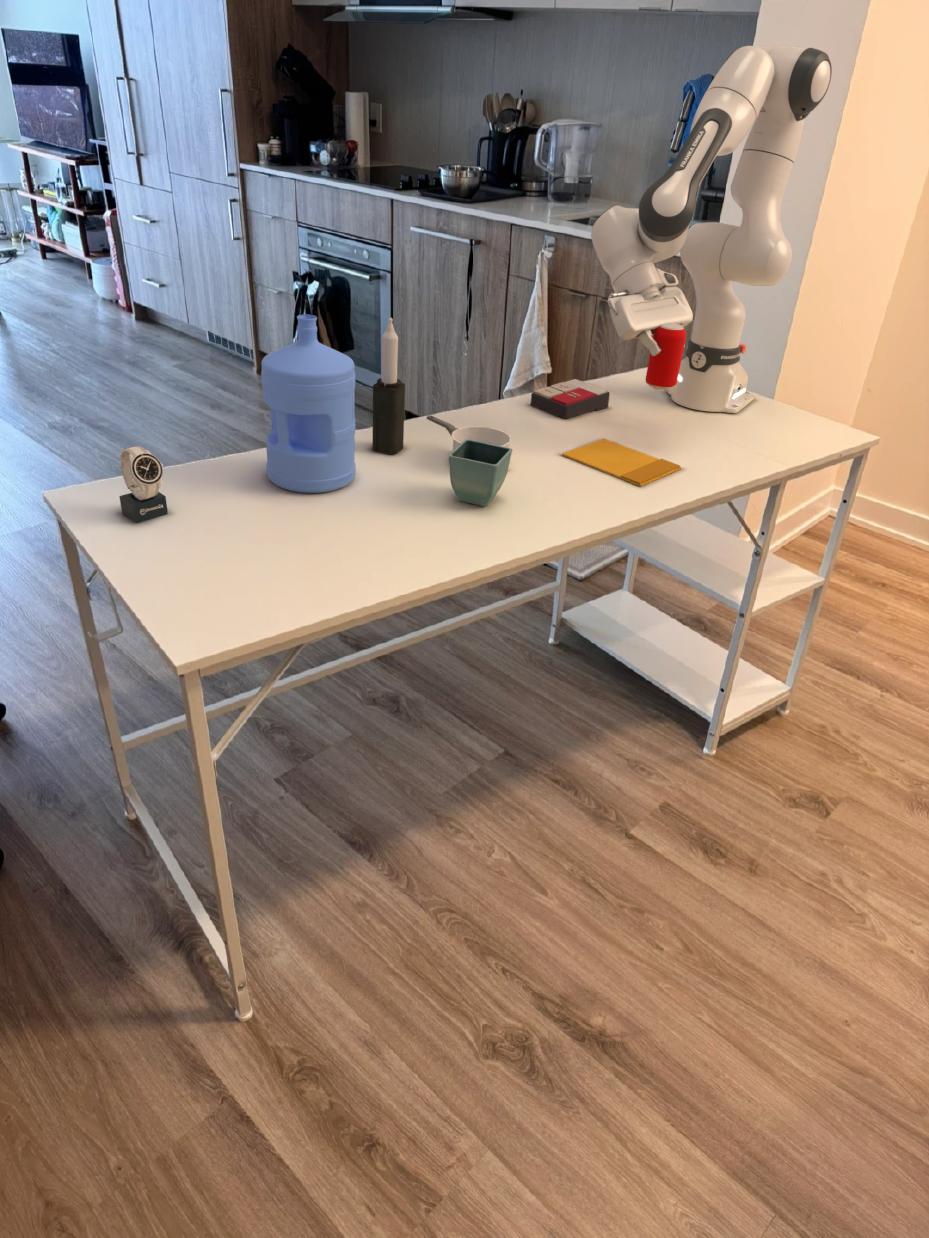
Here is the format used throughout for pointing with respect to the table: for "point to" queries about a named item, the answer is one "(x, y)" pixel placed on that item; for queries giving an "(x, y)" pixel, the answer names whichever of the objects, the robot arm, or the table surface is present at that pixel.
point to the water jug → (310, 414)
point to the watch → (142, 485)
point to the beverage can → (666, 356)
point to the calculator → (570, 398)
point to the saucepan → (474, 434)
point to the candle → (388, 399)
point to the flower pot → (478, 471)
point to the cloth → (622, 462)
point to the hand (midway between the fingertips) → (669, 351)
